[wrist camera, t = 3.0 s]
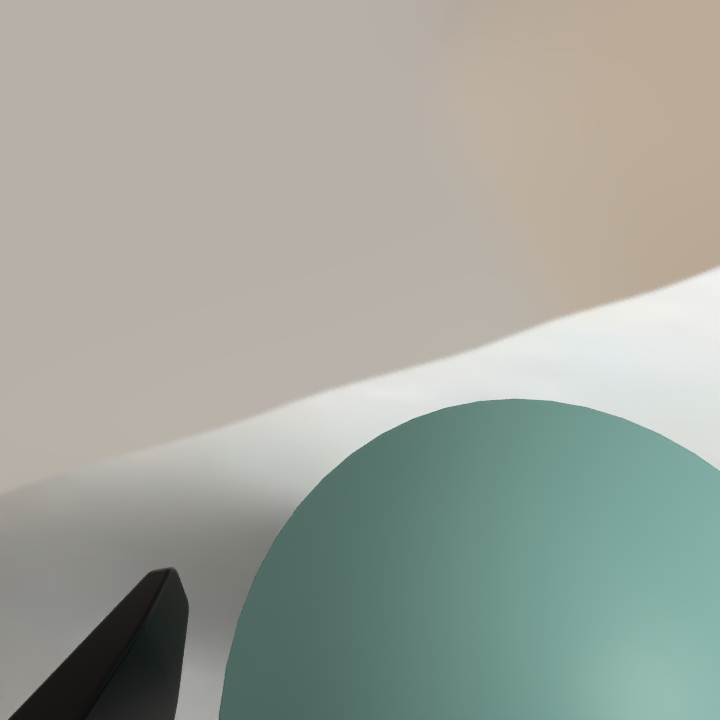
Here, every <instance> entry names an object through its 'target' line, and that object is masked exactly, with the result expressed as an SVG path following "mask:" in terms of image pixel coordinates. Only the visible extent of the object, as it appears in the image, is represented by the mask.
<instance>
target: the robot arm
mask: <svg viewBox="0 0 720 720" xmlns="http://www.w3.org/2000/svg"><path fill="white" fill-rule="evenodd" d="M188 614H189V605H188V600H187V597H186V594H185V591H184V588H183V586H182V583H181V580H180V578H179V575H178V573H177V571H176V570H175V569H174V568H172V567H169V568H163V569H157V570H153V571H151V572H149V573H148V574H147V575H146V576H145V577H144V578H143V579H142V580H141V581H140V582H139V583H138V584H137V585H136V586H135V587H134V588H133V589H132V591H131V592H130V593H129V594H128V595H127V596H126V597H125V598H124V599H123V600H122V601H121V602H120V603H119V604H118V605H117V606H116V607H115V608H114V609H113V610H112V611H111V613H110V614H109V615H108V616H107V617H106V618H105V619H104V620H103V621H102V622H101V623H100V624H99V625H98V626H97V627H96V628H95V629H94V630H93V631H92V632H91V633H90V634H89V636H88V637H87V638H86V639H85V640H84V641H83V642H82V643H81V644H80V645H79V646H78V647H77V648H76V649H75V650H74V651H73V652H72V653H71V654H70V655H69V656H68V658H67V659H66V660H65V661H64V662H63V663H62V664H61V665H60V666H59V667H58V668H57V669H56V670H55V671H54V672H53V673H52V674H51V675H50V676H49V677H48V678H47V679H46V681H45V682H44V683H43V684H42V685H41V686H40V687H39V688H38V689H37V690H36V691H35V692H34V693H33V694H32V695H31V696H30V697H29V698H28V699H27V700H26V701H25V703H24V704H23V705H22V706H21V707H20V708H19V709H18V710H17V711H16V712H15V713H14V714H13V715H12V716H11V717H10V718H9V719H8V720H174V718H175V713H176V708H177V703H178V696H179V689H180V681H181V673H182V664H183V656H184V648H185V639H186V631H187V623H188Z"/></svg>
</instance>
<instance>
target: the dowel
mask: <svg viewBox="0 0 720 720" xmlns="http://www.w3.org/2000/svg"><path fill="white" fill-rule="evenodd" d="M219 720H720V471H719V470H717V469H716V468H715V467H713V466H712V465H710V464H709V463H707V462H706V461H705V460H703V459H702V458H700V457H699V456H697V455H696V454H695V453H693V452H691V451H689V450H687V449H686V448H684V447H682V446H680V445H678V444H677V443H675V442H673V441H671V440H669V439H668V438H666V437H664V436H662V435H661V434H659V433H656V432H654V431H652V430H649V429H647V428H645V427H642V426H640V425H637V424H635V423H633V422H630V421H628V420H626V419H623V418H620V417H617V416H614V415H610V414H607V413H604V412H600V411H597V410H594V409H590V408H587V407H582V406H576V405H571V404H565V403H559V402H554V401H544V400H526V399H505V400H490V401H478V402H473V403H468V404H463V405H458V406H453V407H448V408H444V409H441V410H438V411H435V412H432V413H429V414H426V415H423V416H420V417H417V418H414V419H412V420H409V421H407V422H405V423H403V424H401V425H399V426H397V427H395V428H393V429H391V430H389V431H387V432H385V433H383V434H381V435H379V436H378V437H376V438H375V439H373V440H372V441H370V442H369V443H367V444H366V445H364V446H363V447H361V448H360V449H358V450H357V451H355V452H354V453H352V454H351V455H350V456H349V457H347V458H346V459H345V460H344V461H343V462H342V463H340V464H339V465H338V466H337V467H336V468H335V469H334V470H332V471H331V472H330V473H329V474H328V475H327V476H326V477H324V478H323V479H322V480H321V482H320V483H319V484H318V485H317V486H316V487H315V488H314V489H313V491H312V492H311V493H310V494H309V495H308V496H307V497H306V498H305V499H304V501H303V502H302V503H301V504H300V505H299V506H298V507H297V509H296V510H295V512H294V513H293V515H292V516H291V517H290V519H289V520H288V522H287V523H286V525H285V526H284V528H283V529H282V530H281V532H280V533H279V535H278V536H277V538H276V539H275V541H274V543H273V544H272V546H271V548H270V550H269V552H268V554H267V556H266V558H265V560H264V561H263V563H262V565H261V567H260V569H259V571H258V573H257V575H256V577H255V579H254V581H253V584H252V586H251V589H250V592H249V594H248V597H247V599H246V602H245V604H244V607H243V610H242V612H241V615H240V617H239V620H238V624H237V628H236V631H235V635H234V639H233V643H232V647H231V650H230V654H229V658H228V662H227V666H226V672H225V679H224V686H223V692H222V699H221V706H220V712H219Z"/></svg>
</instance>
